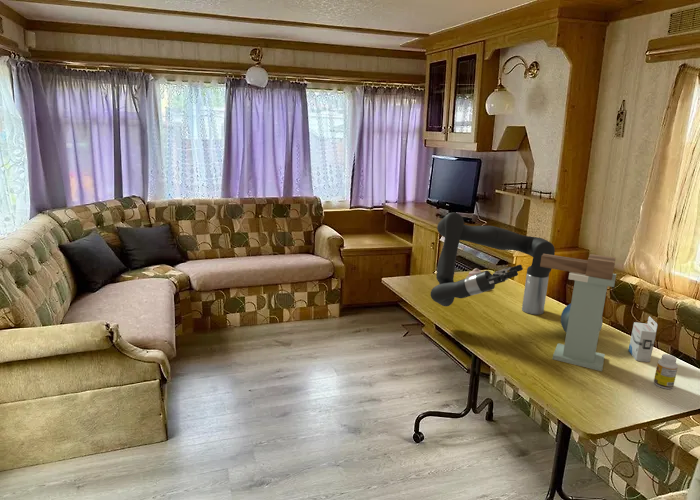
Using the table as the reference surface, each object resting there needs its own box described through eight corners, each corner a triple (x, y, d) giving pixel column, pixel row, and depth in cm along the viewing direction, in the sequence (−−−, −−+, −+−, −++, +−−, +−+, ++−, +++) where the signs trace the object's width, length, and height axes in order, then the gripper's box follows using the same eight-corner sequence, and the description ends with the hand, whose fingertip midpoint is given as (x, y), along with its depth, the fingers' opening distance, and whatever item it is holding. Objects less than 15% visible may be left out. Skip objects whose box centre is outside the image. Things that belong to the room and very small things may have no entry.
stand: (557, 346, 186) (569, 265, 178) (604, 357, 179) (619, 273, 171) (552, 359, 176) (565, 273, 168) (601, 371, 169) (618, 282, 161)
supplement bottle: (654, 379, 165) (660, 351, 162) (674, 385, 161) (680, 356, 159) (651, 385, 161) (657, 356, 158) (671, 391, 157) (678, 362, 155)
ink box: (627, 350, 186) (634, 314, 182) (641, 352, 185) (649, 315, 181) (635, 360, 178) (643, 322, 174) (650, 362, 177) (658, 324, 173)
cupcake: (472, 290, 248) (474, 271, 245) (461, 284, 256) (463, 266, 253) (487, 288, 251) (489, 269, 248) (476, 283, 259) (478, 264, 257)
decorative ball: (595, 333, 201) (601, 298, 197) (602, 348, 186) (609, 311, 183) (555, 328, 204) (561, 293, 201) (560, 342, 190) (566, 306, 187)
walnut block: (542, 262, 181) (545, 247, 179) (612, 274, 170) (615, 257, 169) (539, 267, 174) (541, 251, 173) (611, 280, 163) (614, 262, 162)
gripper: (470, 278, 184) (511, 264, 176) (480, 270, 196) (519, 256, 188) (478, 297, 184) (519, 283, 176) (488, 287, 196) (527, 274, 188)
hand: (519, 269), depth 182 cm, fingers open, 8 cm apart
